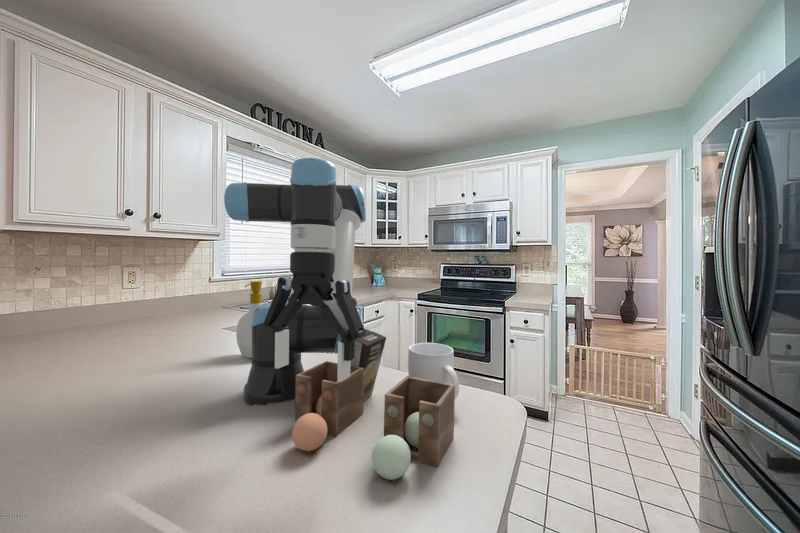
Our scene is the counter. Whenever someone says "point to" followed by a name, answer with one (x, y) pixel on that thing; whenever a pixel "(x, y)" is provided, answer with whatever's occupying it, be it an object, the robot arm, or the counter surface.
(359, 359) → the coffee box
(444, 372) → the mug
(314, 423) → the terracotta ball
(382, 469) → the sage ball
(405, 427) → the sage ball
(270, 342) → the robot arm
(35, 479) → the counter surface
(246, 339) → the soap bottle
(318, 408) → the terracotta ball
